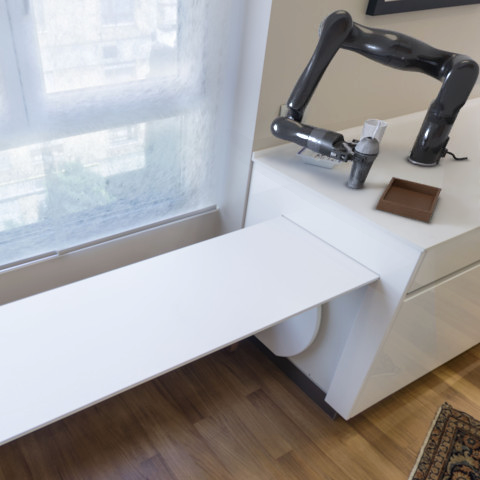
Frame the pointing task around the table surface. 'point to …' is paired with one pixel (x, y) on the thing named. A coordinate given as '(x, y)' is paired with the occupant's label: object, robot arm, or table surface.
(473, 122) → the table surface
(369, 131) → the white cup
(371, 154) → the beverage cup
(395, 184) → the tray
